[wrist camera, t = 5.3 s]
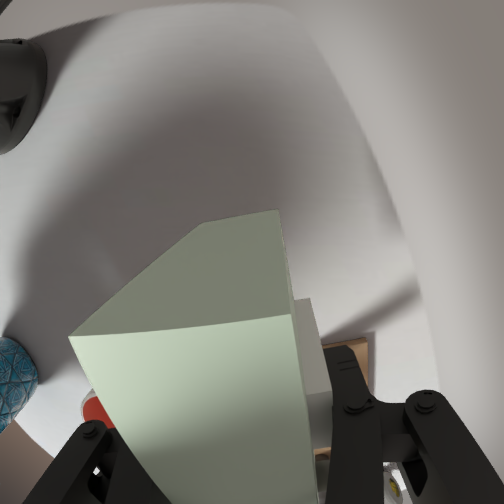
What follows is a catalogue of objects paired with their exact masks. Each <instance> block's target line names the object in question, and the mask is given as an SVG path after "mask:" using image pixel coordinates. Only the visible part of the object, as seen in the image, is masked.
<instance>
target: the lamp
mask: <svg viewBox="0 0 504 504" xmlns="http://www.w3.org/2000/svg"><path fill="white" fill-rule="evenodd" d="M37 385H38V374H37V370H36V367H35V365H34V363H33V361H32V359H31V358H30V356H29V355H28V354H27V352H26V351H25V350H24V349H23V347H22V346H21V345H19V344H18V343H17V342H16V341H14V340H12V339H10V338H7V337H0V434H1V433H2V432H3V431H4V429H5V428H6V427H7V426H8V425H9V424H10V423H11V422H12V420H13V419H14V418H15V417H16V416H17V415H18V413H19V412H20V411H21V410H22V409H23V407H24V406H25V405H26V404H27V402H28V401H29V400H30V398H31V397H32V395H33V394H34V392H35V391H36V389H37Z"/></svg>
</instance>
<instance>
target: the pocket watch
mask: <svg viewBox="0 0 504 504" xmlns="http://www.w3.org/2000/svg"><path fill="white" fill-rule="evenodd" d="M383 474H384V498H385V499H386V501H387V502H388V503H389V504H402V502H403V498H402V493H401V490H400V487H399V485H398V483H397V481H396V480H395V478H394V477H393V476H392V475H391V474H390V473H389V472H383Z"/></svg>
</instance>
